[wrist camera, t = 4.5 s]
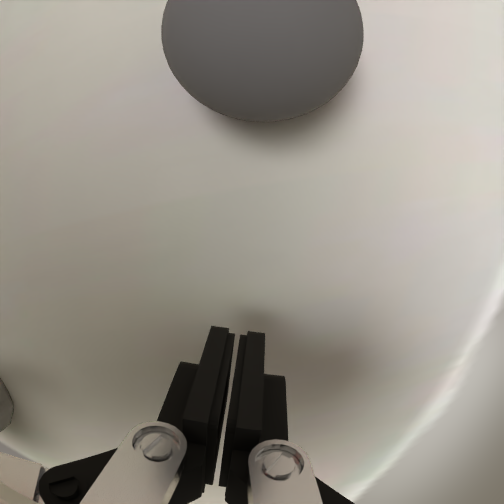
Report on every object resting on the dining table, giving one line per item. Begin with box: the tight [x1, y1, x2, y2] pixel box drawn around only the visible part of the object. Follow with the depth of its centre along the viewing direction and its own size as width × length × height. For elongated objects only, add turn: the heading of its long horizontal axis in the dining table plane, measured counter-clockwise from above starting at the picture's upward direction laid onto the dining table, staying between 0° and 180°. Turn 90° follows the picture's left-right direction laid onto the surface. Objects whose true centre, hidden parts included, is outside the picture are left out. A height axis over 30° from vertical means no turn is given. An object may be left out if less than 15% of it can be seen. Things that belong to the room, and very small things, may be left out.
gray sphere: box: [162, 0, 363, 122], centre depth 7 cm, size 6×6×6 cm
